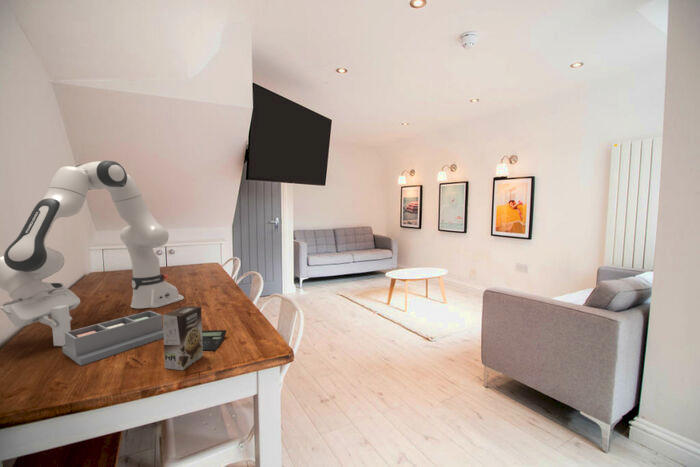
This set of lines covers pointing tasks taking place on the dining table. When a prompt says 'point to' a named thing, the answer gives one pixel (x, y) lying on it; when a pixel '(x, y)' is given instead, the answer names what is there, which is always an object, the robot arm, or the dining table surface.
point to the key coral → (85, 334)
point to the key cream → (115, 326)
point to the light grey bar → (60, 324)
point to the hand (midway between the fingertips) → (62, 323)
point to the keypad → (112, 337)
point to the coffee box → (182, 337)
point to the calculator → (212, 339)
